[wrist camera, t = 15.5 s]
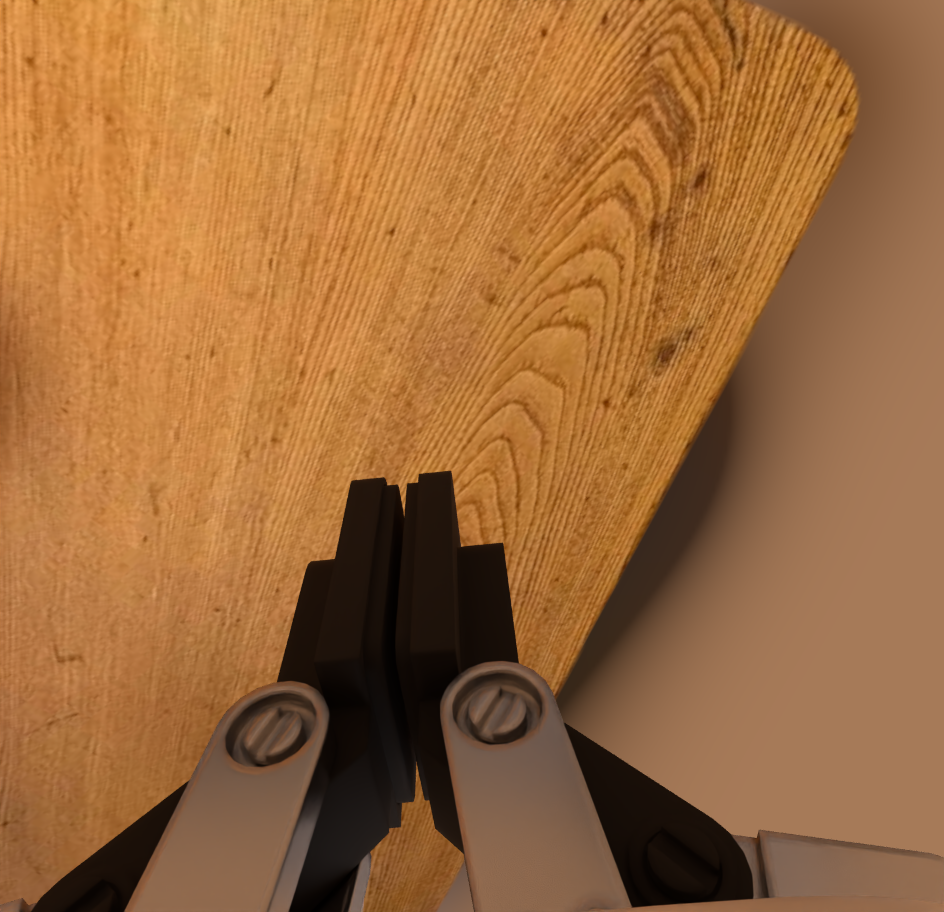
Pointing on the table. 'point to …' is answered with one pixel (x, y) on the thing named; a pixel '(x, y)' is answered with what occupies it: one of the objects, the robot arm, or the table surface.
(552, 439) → the table surface
